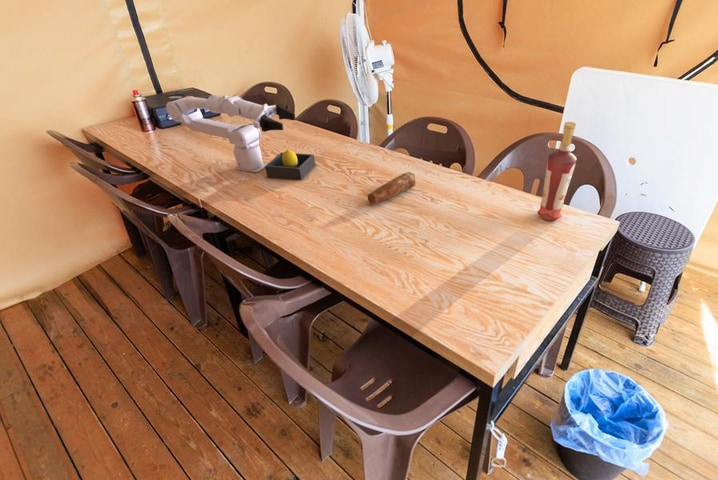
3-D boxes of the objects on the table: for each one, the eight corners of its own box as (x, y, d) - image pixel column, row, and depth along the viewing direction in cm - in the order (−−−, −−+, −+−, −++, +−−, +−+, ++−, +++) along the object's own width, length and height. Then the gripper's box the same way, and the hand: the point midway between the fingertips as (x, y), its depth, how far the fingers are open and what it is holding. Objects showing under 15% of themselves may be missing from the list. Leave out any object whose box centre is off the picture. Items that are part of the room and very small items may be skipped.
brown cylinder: (417, 189, 138) (417, 173, 135) (374, 208, 128) (373, 192, 124) (404, 183, 142) (404, 168, 138) (362, 201, 131) (361, 186, 128)
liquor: (557, 226, 117) (581, 129, 100) (532, 219, 120) (552, 125, 103) (564, 215, 122) (588, 121, 105) (540, 209, 125) (559, 117, 108)
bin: (267, 177, 148) (264, 166, 146) (283, 163, 159) (281, 152, 156) (301, 180, 146) (299, 168, 143) (315, 165, 156) (313, 154, 154)
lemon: (295, 173, 149) (291, 152, 145) (281, 172, 150) (277, 152, 146) (301, 167, 154) (297, 147, 149) (288, 166, 155) (284, 146, 150)
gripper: (239, 110, 133) (274, 120, 131) (265, 92, 143) (298, 102, 140) (244, 129, 139) (278, 139, 136) (268, 111, 148) (300, 120, 145)
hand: (288, 121), depth 138 cm, fingers open, 7 cm apart
